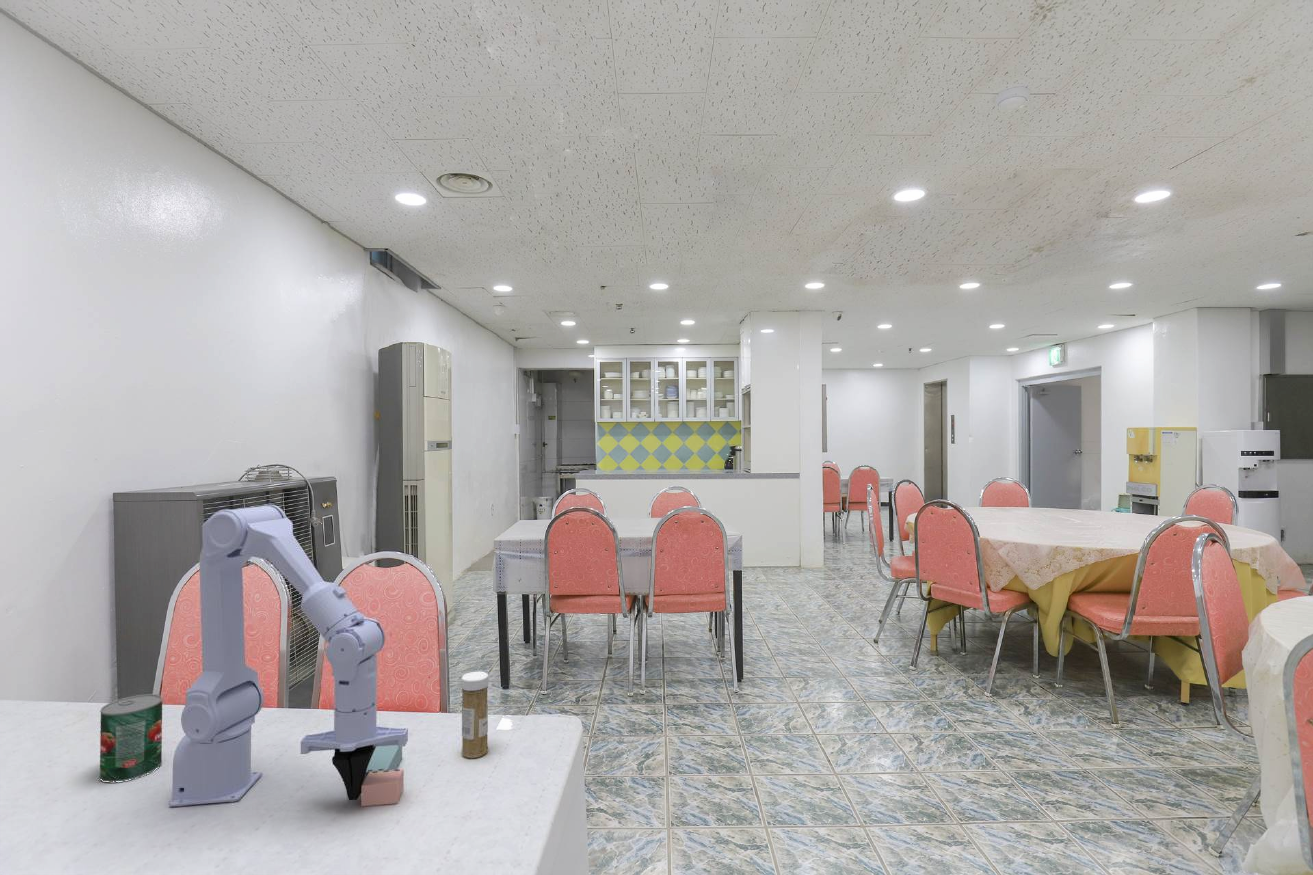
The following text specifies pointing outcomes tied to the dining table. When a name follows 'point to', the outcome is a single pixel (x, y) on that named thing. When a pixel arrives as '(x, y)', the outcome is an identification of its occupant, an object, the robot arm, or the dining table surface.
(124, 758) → the canned tomato
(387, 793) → the stub
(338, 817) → the dining table surface
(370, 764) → the teal elongated prism
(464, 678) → the sprinkles bottle
